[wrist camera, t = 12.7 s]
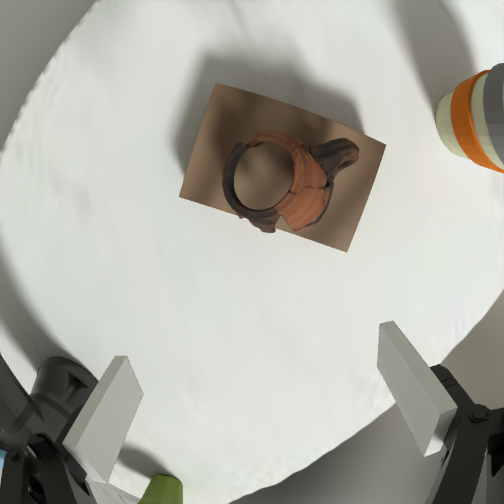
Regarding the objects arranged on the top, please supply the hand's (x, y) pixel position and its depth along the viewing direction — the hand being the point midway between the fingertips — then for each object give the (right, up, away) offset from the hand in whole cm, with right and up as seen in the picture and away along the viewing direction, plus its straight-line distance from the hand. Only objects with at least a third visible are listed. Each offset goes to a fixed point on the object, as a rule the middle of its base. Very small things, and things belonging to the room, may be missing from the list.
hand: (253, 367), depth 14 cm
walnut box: (+3, +16, +20) cm, 26 cm away
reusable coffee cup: (+28, +23, +17) cm, 40 cm away
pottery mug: (+4, +13, +15) cm, 20 cm away
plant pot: (-19, -47, +39) cm, 64 cm away
